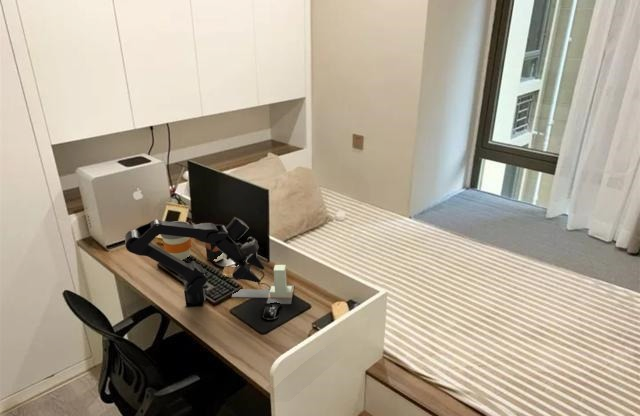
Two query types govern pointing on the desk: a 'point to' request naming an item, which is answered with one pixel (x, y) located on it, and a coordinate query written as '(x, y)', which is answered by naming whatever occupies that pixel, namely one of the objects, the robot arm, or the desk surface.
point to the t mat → (263, 295)
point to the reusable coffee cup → (177, 244)
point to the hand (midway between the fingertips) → (261, 275)
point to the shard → (228, 271)
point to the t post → (280, 283)
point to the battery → (212, 252)
